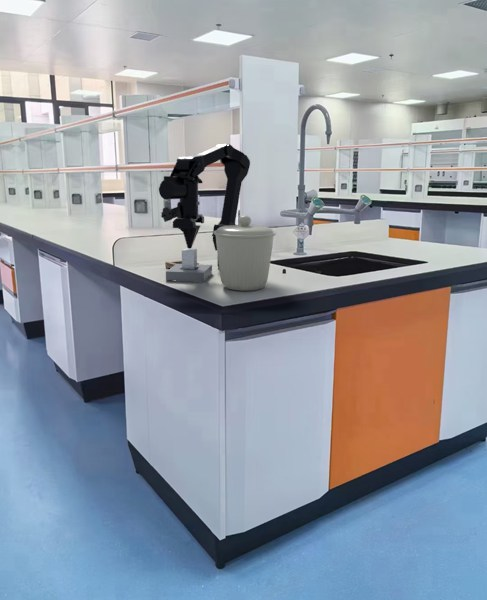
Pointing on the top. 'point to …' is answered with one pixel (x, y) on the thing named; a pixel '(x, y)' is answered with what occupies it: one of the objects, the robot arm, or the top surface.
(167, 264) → the walnut stand collar
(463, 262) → the top surface
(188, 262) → the steel key peg
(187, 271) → the grey flat block
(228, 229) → the canister
